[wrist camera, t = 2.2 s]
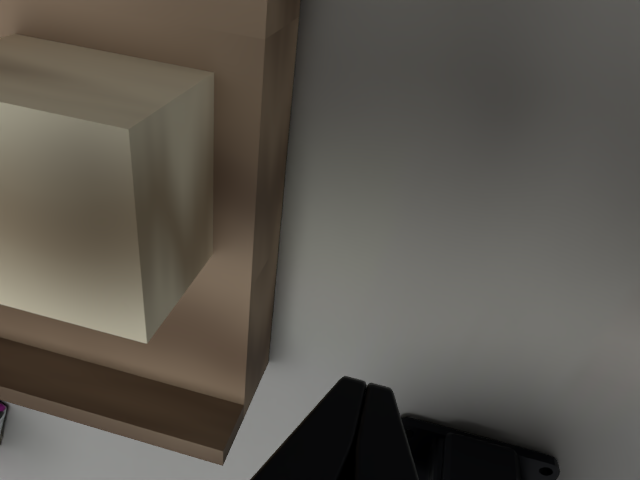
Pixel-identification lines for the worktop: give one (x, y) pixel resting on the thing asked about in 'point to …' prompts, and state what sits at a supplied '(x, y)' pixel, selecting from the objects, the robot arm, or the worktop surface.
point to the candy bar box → (2, 418)
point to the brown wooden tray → (228, 233)
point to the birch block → (102, 184)
